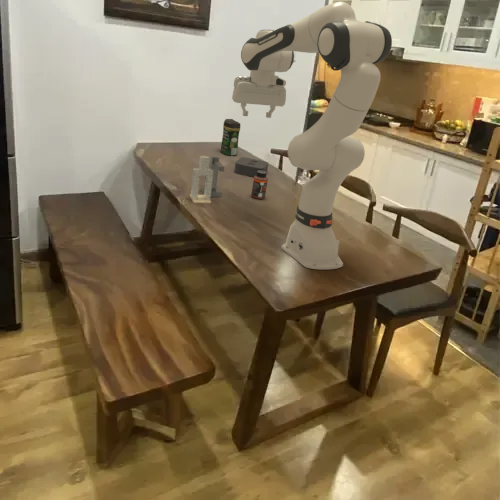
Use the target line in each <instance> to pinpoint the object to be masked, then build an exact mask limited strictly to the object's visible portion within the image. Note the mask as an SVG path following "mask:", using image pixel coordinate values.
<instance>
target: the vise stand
mask: <svg viewBox="0 0 500 500" xmlns="http://www.w3.org/2000/svg"><path fill="white" fill-rule="evenodd" d="M208 169H212V170H213V180H212V189H211V198H222V197H223V192H222V190H221V189H220V188H219V186H217V185H218V184H217V182H218V174H219V172H225V166H224V164H222V162H220V156H219V155H217V154H216V155H214V154H213V155H212V154H210V156H209V166H208ZM204 189H205V185H201V186H200V191H201V193H202V195H204Z"/></svg>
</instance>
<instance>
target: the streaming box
mask: <svg viewBox="0 0 500 500" xmlns="http://www.w3.org/2000/svg"><path fill="white" fill-rule="evenodd" d="M234 163H235V165H234V173H235V174H237V175H242V176H247V177H252V178H254V177H255V176H256V175H257V171H265V172H267V173H268V167H269V162H268V161H265V160H260V159H256V158H255V159H254V158H249V157H240V158H239V159H238V160H236V161H235V162H234Z"/></svg>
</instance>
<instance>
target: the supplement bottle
mask: <svg viewBox="0 0 500 500" xmlns="http://www.w3.org/2000/svg"><path fill="white" fill-rule="evenodd" d="M267 173H268V171H267V172H265V171H257V175H256V176H255V177H253V181H252V189H251V198H254V199H256V200H257V199H258V200H263V199H265V198H266V193H267V186H268V180H269V178H268V176H267Z"/></svg>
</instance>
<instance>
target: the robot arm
mask: <svg viewBox="0 0 500 500" xmlns="http://www.w3.org/2000/svg"><path fill="white" fill-rule="evenodd" d="M392 39H393V38H392V34H391V32H390V30H389V29H388V28H386V27H385V26H383V25H381V24H378V23H376V22H371V21H360V20H357V18H356V14H355V11H354V9H353V7H352V6H351V5H350V4H349V3H347V2H345V1H336V2H332V3H329V4H326V5H324V6H322V7H321V8H319V9H317V10H316V11H314V12H312V13H311V14H308V15H307V16H305V17H303V18H301V19H299V20H297V21H295V22H292V23H289V24H286V25H285V26H281V27H279V28H277V29H275V30H274V29H260V30H258V31H257V33H256V36H255V38H254V37H250V38H248V40H246V42H244V44H243V45H242V47H241V48H242V49H241V51H240V58H241V61H242V64H243V65H244V66H245V68H246V69H247V70H248V71H250V73H249V76H243V75H239V76H237V77H235V78H234V82H233V91H232V95H231V96H232V97H231V100H232V101H233V102H234V103H237V104H240V107H241V109H242V116H243V117H248V115H249V111H248V110H247V109H246V107H247V104H248V105H259V106H269V108H270V109H269V111H267V112H266V113H265V118H266V119H271V118H272V114H273V112H274V111H275V110H276V107H284V106H285V105H286V101H287V89H286V87H285V86H286V85H287V81H286V80H285V79H283V78H282V77H279V76H278V75H275V74H276V73H285V72H288V71H289V70H291V68H292V65H294V60H295V53H294V52H298V53H307V54H315V53H319V54H320V57H321V58H322V60H323V61H324V62H326V63H327V64H328V65H329V67H330V70H332V71H340V79H339V81H338V83H337V86H336V88H335V90H334V92H333V94H332V97H331V99H330V101H329V103H328V104H327V107H326V109H325V111H324V112H323V113H322V115H321V117H320V118H319V119H318V120H317V121H316V122H315V123H313V124H312V126H311V127H309V128H308V129H307V130H306V131H304V132H301V133H300V134H298V135H295V136H294V137H293V138H291V139H292V140H290V142H289V144H288V147H287V157H288V160H289V162H290V164H291V165H292V166H293V167H295V168H299V169H303V170H306V171H318V172H317V173H316V175H314V176H313V177H311V178H310V179H308V180H306V181H305V182H304V184H303V185H302V187H301V191H300V197H299V202H298V206H297V207H296V209H295V214H294V215H295V216H294V218H295V219H294V221H293V222H292V223H291V224H290V225H289V228H288V232H287V237H286V239H285V240H286V241H285V243H283V244H282V245H281V249H282V251H284V252H285V253H287V254H288V255H289V256H290V257H292V258H293V259H294V260H295V261H297V262H298V263H299V264H301V265H302V266H304V267H305V268H307V269H313V270H334V269H340V268H342V267H344V262H343V261H342V259H341V257H340V256H339V246H340V240H339V239H337V238H336V235H335V232H334V231H333V227H332V226H333V224H334V220H333V212H332V211H333V207H334V204H335V200H336V196H337V193H338V190H339V189H340V187H341V185H342V184H343V182H344V180H345V179H346V178H347V177H348V175H350V174H351V173H352V172H354V170H356V169H358V168H359V167H360V166H361V165H362V163H363V161H364V159H365V155H366V154H365V151H366V150H365V147H364V144H363V142H362V141H361V140H360V139H357V138H354V137H351V135H354V134H355V133H356V132H357V131H358V130H359V129H360V128H361V125H362V124H363V122H364V120H365V118H366V115H367V114H368V112H369V110H370V108H371V106H372V103H373V102H374V99H375V98H376V95H377V91H378V89H379V86H380V82H381V78H382V77H381V72H380V69H379V67H377V66H376V64H378V63H379V64H380V63H381V62H383V61H384V60H386V59H387V58H388V56H389V55H390V52H391V49H392V45H393V44H392V43H393V40H392Z"/></svg>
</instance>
